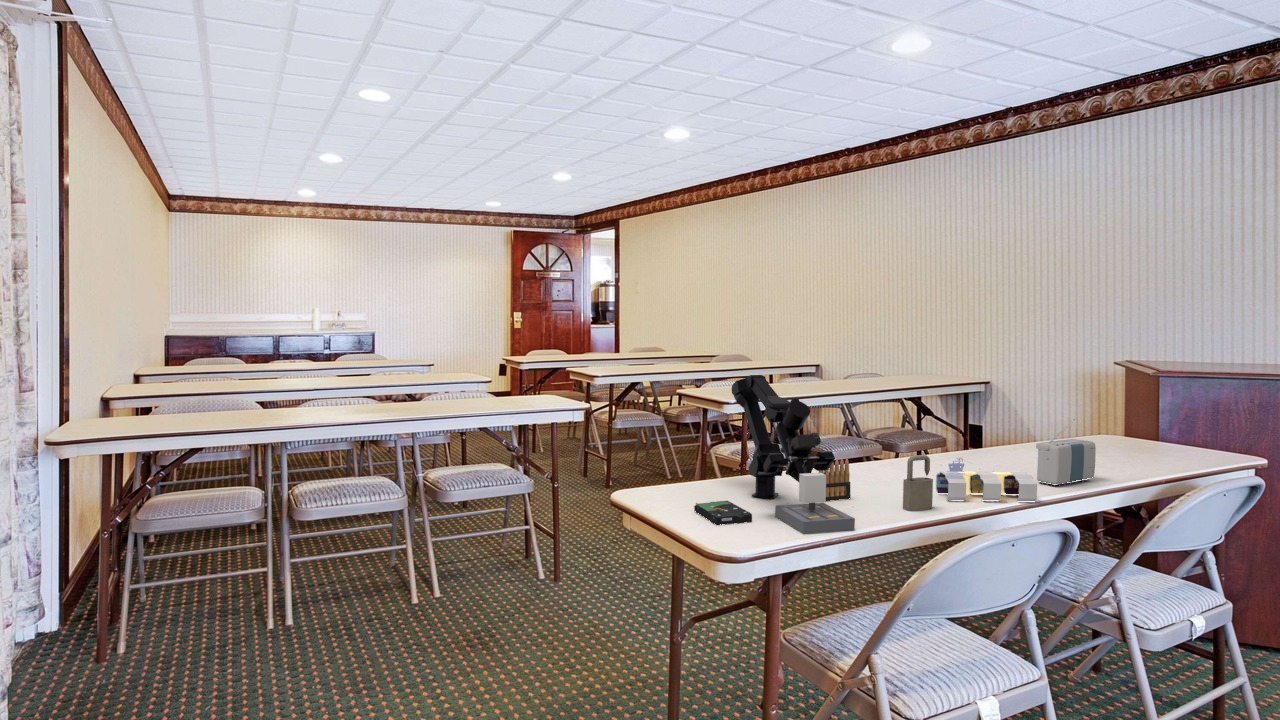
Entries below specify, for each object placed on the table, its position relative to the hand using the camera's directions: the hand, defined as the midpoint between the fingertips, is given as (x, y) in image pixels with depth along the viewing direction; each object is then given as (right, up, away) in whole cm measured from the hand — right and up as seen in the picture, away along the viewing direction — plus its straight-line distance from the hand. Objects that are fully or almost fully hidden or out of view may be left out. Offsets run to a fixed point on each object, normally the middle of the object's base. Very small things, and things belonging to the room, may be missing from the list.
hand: (809, 489), depth 193 cm
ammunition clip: (+12, -7, +23) cm, 27 cm away
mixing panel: (+1, -8, -2) cm, 9 cm away
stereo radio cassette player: (+94, -7, +49) cm, 106 cm away
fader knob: (0, -5, -1) cm, 5 cm away
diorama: (+58, -8, +26) cm, 63 cm away
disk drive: (-22, -9, +4) cm, 24 cm away
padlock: (+33, -8, +13) cm, 37 cm away
